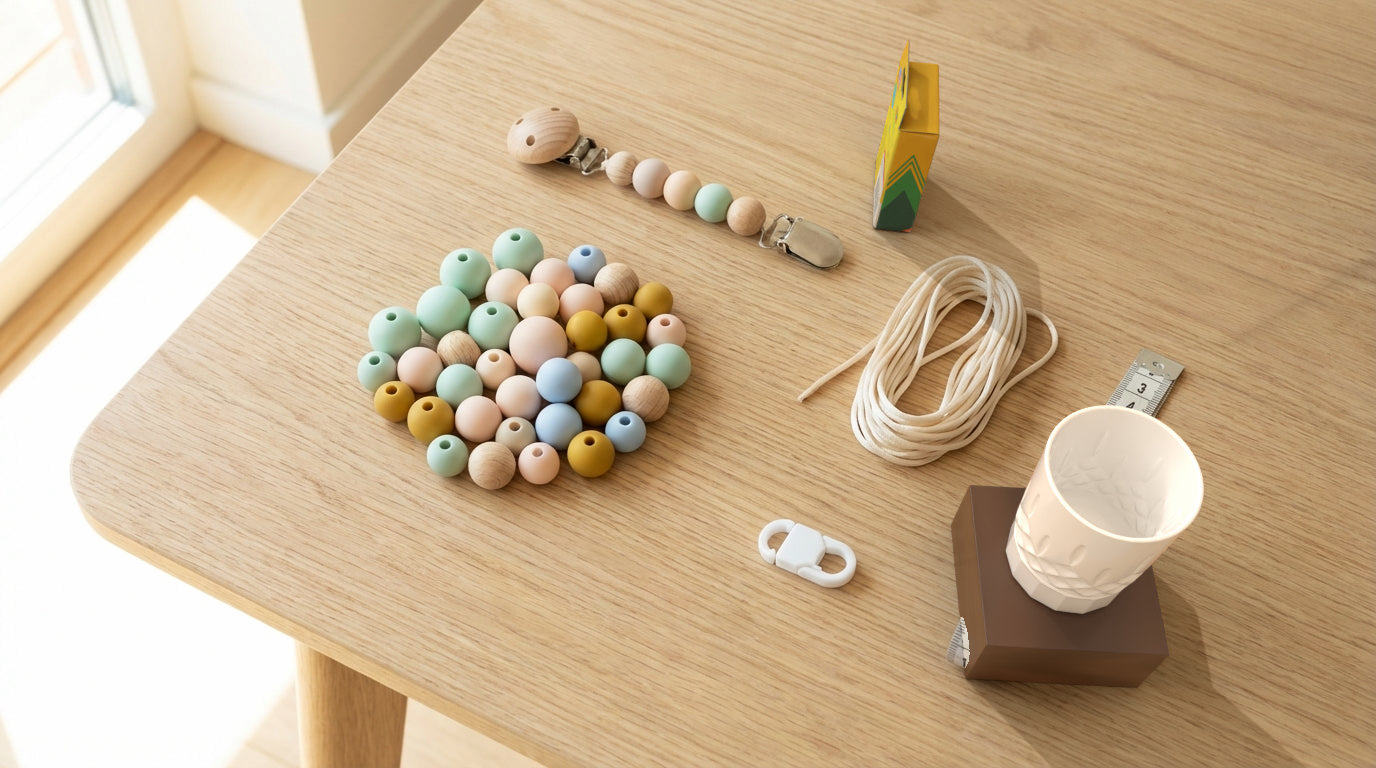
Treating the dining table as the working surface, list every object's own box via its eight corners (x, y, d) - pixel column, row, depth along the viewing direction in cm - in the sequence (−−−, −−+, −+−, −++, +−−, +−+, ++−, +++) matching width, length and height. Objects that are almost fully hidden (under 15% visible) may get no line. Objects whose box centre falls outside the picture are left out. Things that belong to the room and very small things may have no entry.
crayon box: (912, 234, 89) (946, 116, 79) (871, 230, 89) (901, 110, 79) (914, 162, 93) (946, 41, 83) (875, 157, 93) (903, 36, 84)
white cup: (1163, 581, 68) (1237, 495, 60) (1059, 650, 66) (1121, 570, 58) (1069, 476, 72) (1126, 381, 64) (966, 538, 69) (1012, 447, 61)
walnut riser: (1110, 532, 76) (1138, 493, 72) (1138, 688, 70) (1170, 655, 66) (950, 524, 76) (969, 484, 71) (964, 679, 70) (986, 645, 66)
